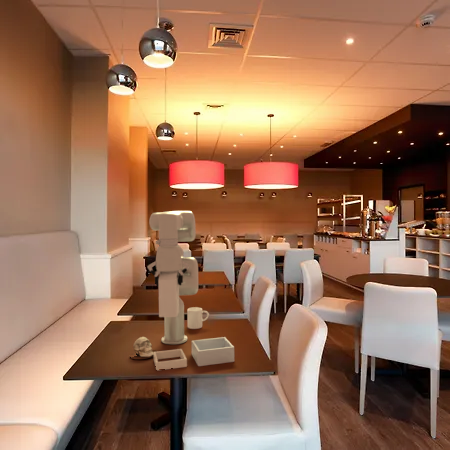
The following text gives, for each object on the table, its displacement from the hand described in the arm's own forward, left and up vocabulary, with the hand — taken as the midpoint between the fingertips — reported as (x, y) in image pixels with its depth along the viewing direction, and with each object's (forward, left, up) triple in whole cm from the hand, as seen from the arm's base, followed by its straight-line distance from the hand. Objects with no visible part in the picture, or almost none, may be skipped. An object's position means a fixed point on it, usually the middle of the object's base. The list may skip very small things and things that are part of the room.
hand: (168, 285), depth 144 cm
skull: (-12, -10, -32) cm, 36 cm away
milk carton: (0, 0, -12) cm, 12 cm away
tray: (0, 0, -32) cm, 32 cm away
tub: (+1, +18, -32) cm, 37 cm away
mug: (-44, +22, -32) cm, 59 cm away
